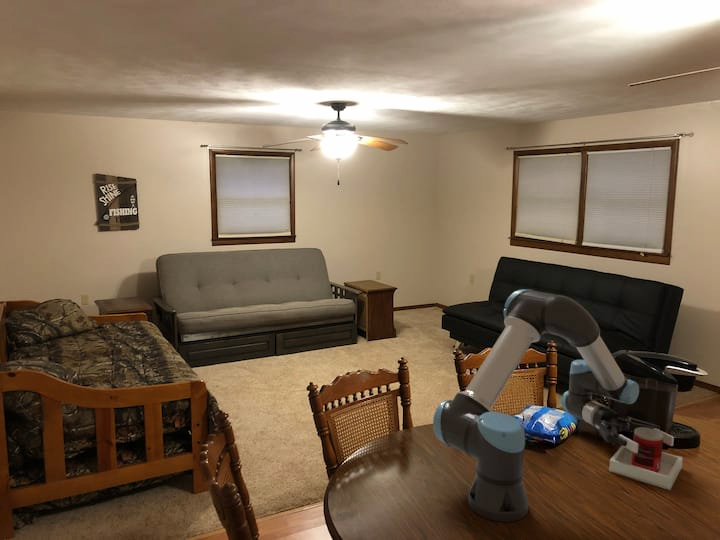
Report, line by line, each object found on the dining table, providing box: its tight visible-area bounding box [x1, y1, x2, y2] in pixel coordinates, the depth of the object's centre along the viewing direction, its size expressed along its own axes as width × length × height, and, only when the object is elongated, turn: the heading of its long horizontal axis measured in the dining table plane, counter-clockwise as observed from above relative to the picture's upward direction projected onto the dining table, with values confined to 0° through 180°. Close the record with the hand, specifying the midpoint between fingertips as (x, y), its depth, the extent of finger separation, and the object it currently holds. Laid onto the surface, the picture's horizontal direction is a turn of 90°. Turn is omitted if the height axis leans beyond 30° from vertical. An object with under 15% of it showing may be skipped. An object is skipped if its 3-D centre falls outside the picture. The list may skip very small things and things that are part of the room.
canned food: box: [632, 427, 664, 473], centre depth 162 cm, size 8×8×11 cm
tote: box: [608, 445, 684, 491], centre depth 162 cm, size 16×16×4 cm
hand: (655, 445), depth 159 cm, fingers open, 13 cm apart
